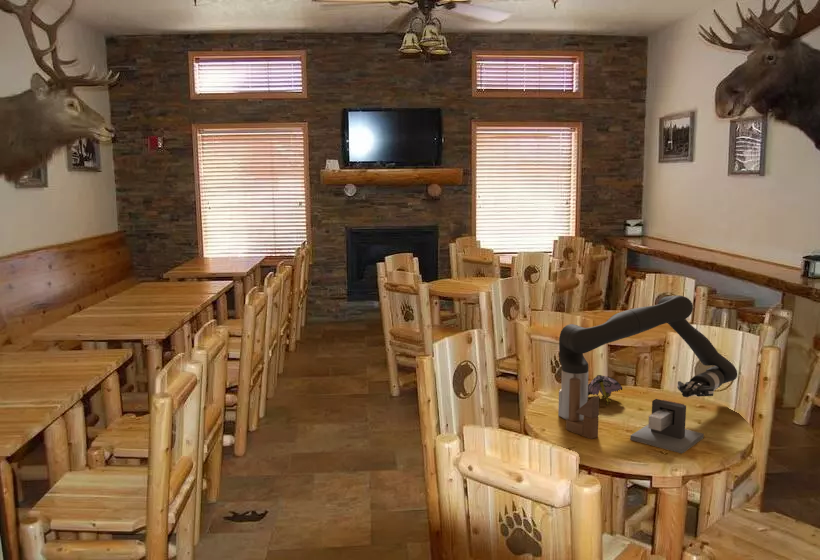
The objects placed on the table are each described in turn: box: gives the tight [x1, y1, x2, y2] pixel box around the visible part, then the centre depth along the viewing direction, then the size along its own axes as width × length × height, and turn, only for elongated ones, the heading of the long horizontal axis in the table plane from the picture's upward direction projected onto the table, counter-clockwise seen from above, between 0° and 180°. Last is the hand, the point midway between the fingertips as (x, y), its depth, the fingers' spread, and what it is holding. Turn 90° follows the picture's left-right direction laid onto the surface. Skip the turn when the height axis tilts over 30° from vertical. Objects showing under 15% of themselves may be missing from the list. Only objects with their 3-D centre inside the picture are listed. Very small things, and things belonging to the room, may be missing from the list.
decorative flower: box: [588, 374, 623, 406], centre depth 259 cm, size 14×12×15 cm
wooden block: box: [565, 378, 600, 440], centre depth 226 cm, size 4×11×18 cm, turn 37°
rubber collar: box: [651, 398, 687, 439], centre depth 221 cm, size 10×3×10 cm, turn 46°
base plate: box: [629, 424, 705, 454], centre depth 222 cm, size 17×17×2 cm
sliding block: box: [647, 399, 685, 431], centre depth 219 cm, size 7×14×7 cm, turn 136°
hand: (685, 394), depth 230 cm, fingers closed
